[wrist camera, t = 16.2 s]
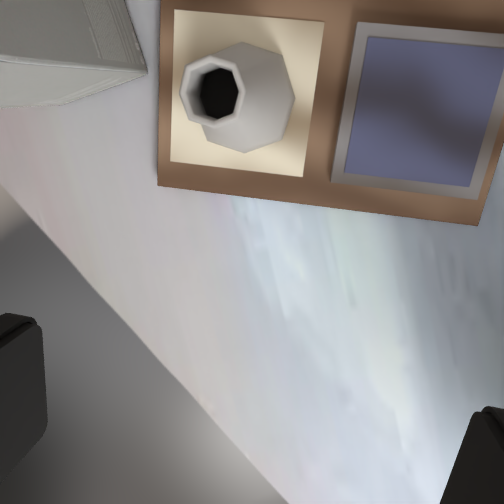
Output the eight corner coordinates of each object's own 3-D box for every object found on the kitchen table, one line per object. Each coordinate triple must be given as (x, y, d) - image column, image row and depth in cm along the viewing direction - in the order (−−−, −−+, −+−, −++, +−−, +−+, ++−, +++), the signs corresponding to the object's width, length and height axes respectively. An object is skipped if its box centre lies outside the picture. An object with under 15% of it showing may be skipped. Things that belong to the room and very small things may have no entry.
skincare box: (120, -22, 27) (-106, -188, 12) (155, 87, 29) (-2, 58, 14) (18, 19, 29) (-290, -83, 14) (57, 118, 31) (-174, 122, 16)
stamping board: (472, 222, 29) (484, 230, 27) (161, 183, 31) (152, 188, 29) (537, 7, 24) (557, -2, 22) (166, -22, 27) (155, -33, 25)
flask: (196, 153, 29) (145, 171, 20) (189, 44, 27) (127, 6, 17) (294, 152, 28) (289, 171, 19) (296, 39, 26) (291, -3, 16)
